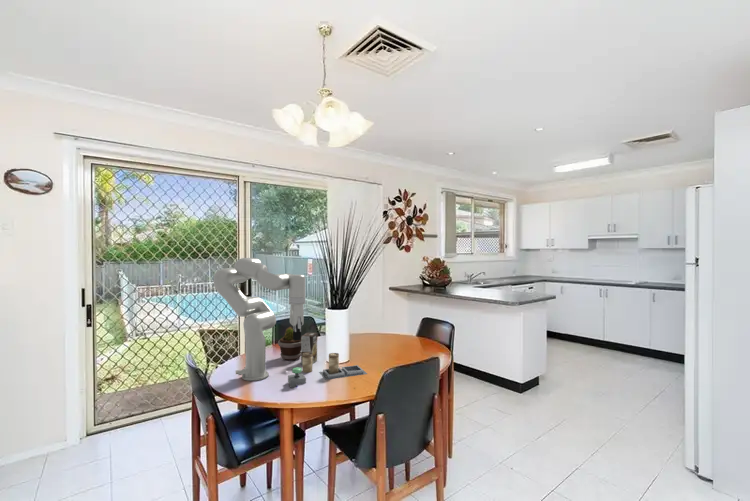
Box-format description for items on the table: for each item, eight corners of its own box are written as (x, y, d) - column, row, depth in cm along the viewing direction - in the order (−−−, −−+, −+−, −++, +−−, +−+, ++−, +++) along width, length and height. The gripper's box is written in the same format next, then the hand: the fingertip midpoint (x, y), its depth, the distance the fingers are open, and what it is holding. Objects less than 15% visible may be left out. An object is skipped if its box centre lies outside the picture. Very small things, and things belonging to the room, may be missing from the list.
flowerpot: (282, 354, 220) (282, 321, 220) (307, 355, 218) (307, 322, 218) (273, 361, 205) (273, 326, 205) (300, 362, 204) (300, 327, 204)
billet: (303, 375, 183) (303, 355, 183) (301, 372, 188) (301, 352, 188) (313, 374, 185) (313, 354, 185) (311, 371, 190) (311, 351, 190)
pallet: (325, 382, 174) (325, 376, 174) (318, 374, 185) (318, 369, 185) (367, 376, 182) (367, 370, 182) (359, 369, 193) (359, 363, 193)
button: (293, 379, 168) (293, 370, 168) (291, 376, 172) (291, 368, 172) (302, 377, 170) (302, 369, 170) (300, 374, 174) (300, 366, 174)
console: (290, 387, 167) (290, 380, 167) (288, 382, 173) (288, 375, 173) (305, 385, 169) (305, 378, 169) (302, 380, 176) (302, 373, 176)
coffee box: (311, 365, 199) (311, 336, 199) (300, 364, 200) (300, 335, 200) (317, 360, 208) (317, 332, 208) (307, 359, 209) (307, 332, 209)
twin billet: (330, 376, 178) (330, 355, 178) (327, 373, 183) (327, 352, 183) (340, 375, 180) (340, 354, 180) (337, 372, 185) (337, 351, 185)
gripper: (286, 299, 177) (286, 336, 177) (292, 303, 163) (292, 344, 163) (301, 298, 180) (301, 335, 180) (308, 302, 166) (308, 342, 166)
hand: (297, 339), depth 171 cm, fingers closed
